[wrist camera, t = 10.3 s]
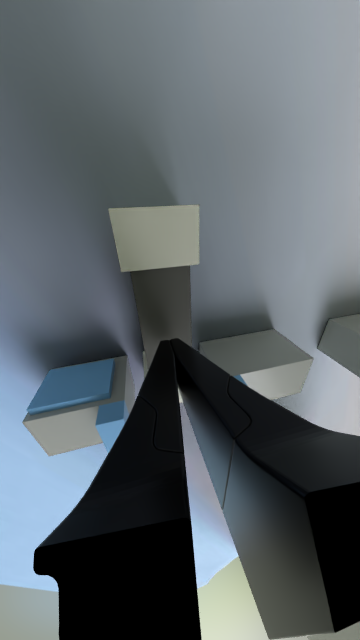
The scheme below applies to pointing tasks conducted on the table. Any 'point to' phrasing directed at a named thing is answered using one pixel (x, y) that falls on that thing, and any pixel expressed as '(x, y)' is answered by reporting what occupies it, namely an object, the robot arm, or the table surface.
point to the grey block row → (119, 390)
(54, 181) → the table surface
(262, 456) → the robot arm
